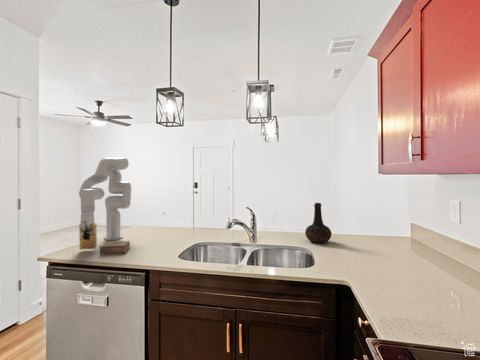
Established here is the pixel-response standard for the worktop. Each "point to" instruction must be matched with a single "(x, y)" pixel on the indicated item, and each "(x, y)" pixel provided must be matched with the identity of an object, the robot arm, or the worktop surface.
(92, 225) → the candy box
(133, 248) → the worktop surface
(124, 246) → the walnut block
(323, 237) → the glass bottle
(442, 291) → the worktop surface
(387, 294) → the worktop surface
